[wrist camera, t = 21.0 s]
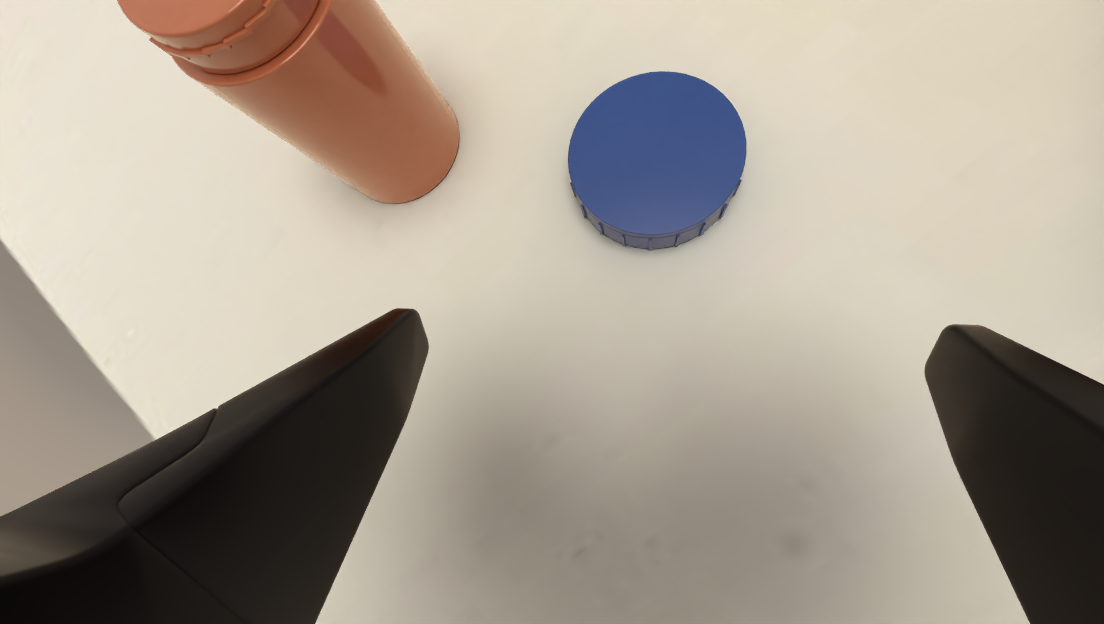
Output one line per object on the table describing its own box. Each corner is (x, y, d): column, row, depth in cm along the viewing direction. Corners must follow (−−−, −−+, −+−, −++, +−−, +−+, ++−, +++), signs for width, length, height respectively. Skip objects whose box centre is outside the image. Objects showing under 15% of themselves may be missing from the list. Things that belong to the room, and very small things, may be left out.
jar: (409, 227, 22) (195, 84, 11) (324, 165, 23) (66, -11, 13) (484, 123, 22) (338, -113, 11) (394, 68, 23) (193, -185, 13)
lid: (692, 71, 20) (697, 40, 18) (768, 205, 19) (782, 186, 17) (550, 143, 21) (541, 120, 19) (612, 276, 19) (608, 265, 17)
